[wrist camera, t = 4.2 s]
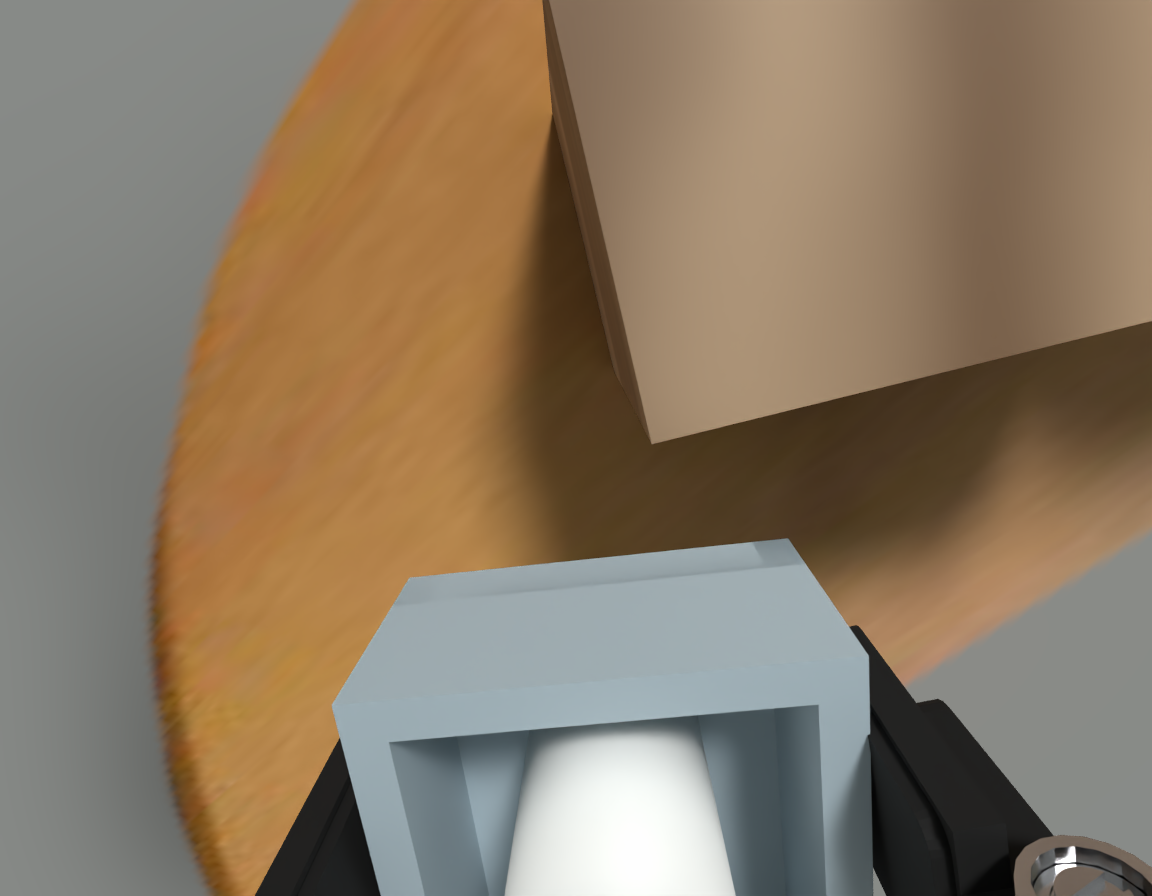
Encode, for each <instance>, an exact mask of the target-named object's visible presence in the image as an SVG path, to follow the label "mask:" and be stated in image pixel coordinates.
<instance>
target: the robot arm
mask: <svg viewBox="0 0 1152 896" xmlns="http://www.w3.org/2000/svg"><path fill="white" fill-rule="evenodd" d="M849 628H850V629H851V631H852V632H853V634H854V635H855V637H856V638H857V639H858V641H859V642H860V644H861V645H862V647H863V648H864V650H865V651H866V653H867V654H868V655H869V693H870V734H869V735H868V740H869V746H870V753H871V800H872V854H873V868H874V870H875V872H876V874H877V877H878V878H879V881H880V883H881V885H882V887H883V889H884V891H885V894H886V896H1152V867H1150V866H1149V865H1147V864H1146V863H1144V862H1143V861H1142V860H1140V859H1139V858H1137V857H1136V856H1134V855H1133V854H1131V853H1128V852H1126V851H1124V850H1122V849H1120V848H1117V847H1116V846H1113V845H1111V844H1109V843H1106V842H1102V841H1098V840H1094V839H1090V838H1087V837H1081V836H1065V835H1058V836H1053V835H1052V833H1051V832H1050V831H1049V829H1048V828H1047V827H1046V826H1045V825H1044V823H1043V822H1042V821H1041V820H1040V819H1039V817H1038V816H1037V815H1036V813H1035V812H1034V811H1033V810H1032V809H1031V807H1030V806H1029V805H1028V804H1027V803H1026V801H1025V800H1024V799H1023V798H1022V796H1021V795H1020V794H1019V793H1018V791H1017V790H1016V789H1015V788H1014V786H1013V785H1012V784H1011V783H1010V782H1009V780H1008V779H1007V778H1006V777H1005V775H1004V774H1003V773H1002V772H1001V770H1000V769H999V768H998V767H997V766H996V765H995V763H994V762H993V761H992V759H991V758H990V757H989V756H988V754H987V753H986V752H985V751H984V750H983V748H982V747H981V746H980V745H979V743H978V742H977V741H976V740H975V739H974V737H973V736H972V735H971V734H970V732H969V731H968V730H967V729H966V727H965V726H964V725H963V724H962V723H961V721H960V720H959V719H958V718H957V717H956V715H955V714H954V713H953V712H952V710H951V709H950V708H949V707H948V706H947V705H946V704H945V703H944V702H943V701H941V700H939V699H935V700H931V701H925V702H920V703H916V702H915V701H914V699H913V698H912V697H911V695H910V694H909V693H908V692H907V690H906V689H905V687H904V686H903V685H902V683H901V682H900V681H899V679H898V678H897V677H896V675H895V674H894V673H893V671H892V670H891V669H890V667H889V666H888V665H887V663H886V662H885V660H884V659H883V658H882V656H881V655H880V654H879V652H878V651H877V650H876V648H875V647H874V646H873V644H872V643H871V642H870V640H869V639H868V638H867V636H866V635H865V634H864V632H863V631H862V630H861V628H860V627H859V626H856V625H855V626H851V627H849ZM255 896H381V894H380V891H379V887H378V883H377V879H376V875H375V871H374V867H373V863H372V860H371V856H370V852H369V848H368V844H367V840H366V836H365V832H364V829H363V825H362V821H361V817H360V813H359V809H358V805H357V801H356V798H355V794H354V790H353V786H352V782H351V778H350V774H349V771H348V767H347V763H346V759H345V755H344V751H343V747H342V743H341V740H340V738H339V740H338V742H337V744H336V746H335V748H334V749H333V751H332V753H331V755H330V757H329V759H328V761H327V762H326V764H325V766H324V768H323V770H322V772H321V774H320V775H319V777H318V779H317V781H316V783H315V785H314V787H313V788H312V790H311V792H310V794H309V796H308V798H307V800H306V802H305V803H304V805H303V807H302V809H301V811H300V813H299V815H298V816H297V818H296V820H295V822H294V824H293V826H292V828H291V829H290V831H289V833H288V835H287V837H286V839H285V841H284V842H283V844H282V846H281V848H280V850H279V852H278V854H277V855H276V857H275V859H274V861H273V863H272V865H271V867H270V868H269V870H268V872H267V874H266V876H265V878H264V880H263V882H262V883H261V885H260V887H259V889H258V891H257V893H256V895H255Z"/></svg>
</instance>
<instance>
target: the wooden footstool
mask: <svg viewBox="0 0 1152 896" xmlns="http://www.w3.org/2000/svg"><path fill="white" fill-rule="evenodd" d="M543 11H544V23H545V34H546V46H547V57H548V68H549V80H550V91H551V103H552V113H553V117H554V121H555V126H556V130H557V134H558V138H559V142H560V147H561V151H562V155H563V159H564V163H565V168H566V172H567V176H568V180H569V184H570V189H571V193H572V197H573V201H574V205H575V209H576V214H577V218H578V222H579V226H580V230H581V235H582V239H583V243H584V247H585V251H586V256H587V260H588V264H589V268H590V272H591V277H592V281H593V285H594V289H595V293H596V297H597V302H598V306H599V310H600V314H601V318H602V323H603V327H604V331H605V335H606V339H607V344H608V348H609V352H610V356H611V360H612V365H613V369H614V372H615V374H616V376H617V378H618V380H619V382H620V384H621V386H622V388H623V390H624V392H625V394H626V396H627V397H628V399H629V401H630V403H631V405H632V407H633V409H634V411H635V413H636V415H637V417H638V419H639V421H640V423H641V424H642V426H643V428H644V430H645V432H646V434H647V436H648V438H649V440H650V442H651V444H655V443H659V442H663V441H667V440H671V439H675V438H679V437H683V436H687V435H691V434H695V433H699V432H703V431H708V430H712V429H716V428H720V427H724V426H728V425H732V424H736V423H740V422H744V421H748V420H752V419H756V418H760V417H764V416H768V415H772V414H776V413H781V412H785V411H789V410H793V409H797V408H801V407H805V406H809V405H813V404H817V403H821V402H825V401H829V400H833V399H837V398H841V397H845V396H849V395H854V394H858V393H862V392H866V391H870V390H874V389H878V388H882V387H886V386H890V385H894V384H898V383H902V382H906V381H910V380H914V379H918V378H922V377H926V376H931V375H935V374H939V373H943V372H947V371H951V370H955V369H959V368H963V367H967V366H971V365H975V364H979V363H983V362H987V361H991V360H995V359H999V358H1004V357H1008V356H1012V355H1016V354H1020V353H1024V352H1028V351H1032V350H1036V349H1040V348H1044V347H1048V346H1052V345H1056V344H1060V343H1064V342H1068V341H1072V340H1077V339H1081V338H1085V337H1089V336H1093V335H1097V334H1101V333H1105V332H1109V331H1113V330H1117V329H1121V328H1125V327H1129V326H1133V325H1137V324H1141V323H1145V322H1150V321H1152V0H543Z"/></svg>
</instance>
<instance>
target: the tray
mask: <svg viewBox="0 0 1152 896" xmlns="http://www.w3.org/2000/svg"><path fill="white" fill-rule="evenodd" d="M332 709H333V712H334V716H335V720H336V724H337V728H338V732H339V736H340V740H341V743H342V747H343V751H344V755H345V759H346V763H347V767H348V771H349V774H350V778H351V782H352V786H353V790H354V794H355V798H356V801H357V805H358V809H359V813H360V817H361V821H362V825H363V829H364V832H365V836H366V840H367V844H368V848H369V852H370V856H371V860H372V863H373V867H374V871H375V875H376V879H377V883H378V887H379V891H380V894H381V896H873V854H872V800H871V753H870V746H869V740H868V735H869V734H870V693H869V655H868V654H867V653H866V651H865V650H864V648H863V647H862V645H861V644H860V642H859V641H858V639H857V638H856V637H855V635H854V634H853V632H852V631H851V629H850V628H849V626H848V625H847V623H846V622H845V621H844V619H843V618H842V616H841V615H840V613H839V612H838V610H837V609H836V607H835V606H834V605H833V603H832V602H831V600H830V599H829V597H828V596H827V594H826V593H825V591H824V590H823V589H822V587H821V586H820V584H819V583H818V581H817V580H816V578H815V577H814V575H813V574H812V573H811V571H810V570H809V568H808V567H807V565H806V564H805V562H804V561H803V559H802V558H801V557H800V555H799V554H798V552H797V551H796V549H795V548H794V546H793V545H792V543H791V542H790V540H789V539H788V538H786V539H777V540H767V541H758V542H748V543H738V544H729V545H719V546H710V547H700V548H691V549H681V550H671V551H662V552H652V553H643V554H633V555H624V556H614V557H604V558H595V559H585V560H576V561H566V562H557V563H547V564H537V565H528V566H518V567H509V568H499V569H490V570H480V571H470V572H461V573H451V574H442V575H432V576H423V577H413V578H409V580H408V581H407V583H406V584H405V586H404V588H403V589H402V591H401V593H400V594H399V596H398V598H397V599H396V601H395V602H394V604H393V606H392V607H391V609H390V611H389V612H388V614H387V616H386V617H385V619H384V620H383V622H382V624H381V625H380V627H379V629H378V630H377V632H376V634H375V635H374V637H373V638H372V640H371V642H370V643H369V645H368V647H367V648H366V650H365V652H364V653H363V655H362V656H361V658H360V660H359V661H358V663H357V665H356V666H355V668H354V670H353V671H352V673H351V674H350V676H349V678H348V679H347V681H346V683H345V684H344V686H343V688H342V689H341V691H340V692H339V694H338V696H337V697H336V699H335V701H334V702H333V704H332Z"/></svg>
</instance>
